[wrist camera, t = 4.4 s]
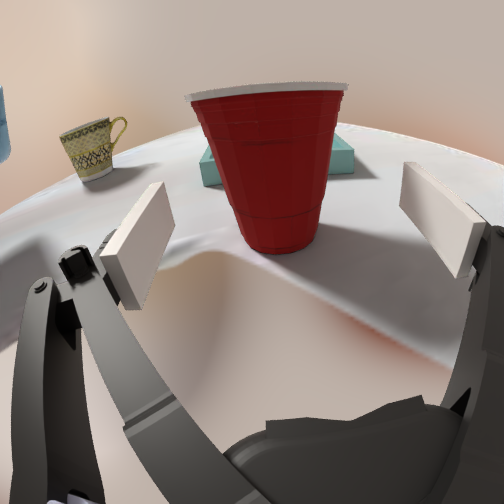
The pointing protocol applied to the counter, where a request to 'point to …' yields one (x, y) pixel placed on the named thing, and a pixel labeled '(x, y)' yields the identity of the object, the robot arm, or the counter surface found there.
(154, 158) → the counter surface
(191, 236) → the counter surface
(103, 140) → the ceramic cup
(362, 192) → the counter surface
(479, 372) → the robot arm
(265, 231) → the plastic cup
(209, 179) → the tray
